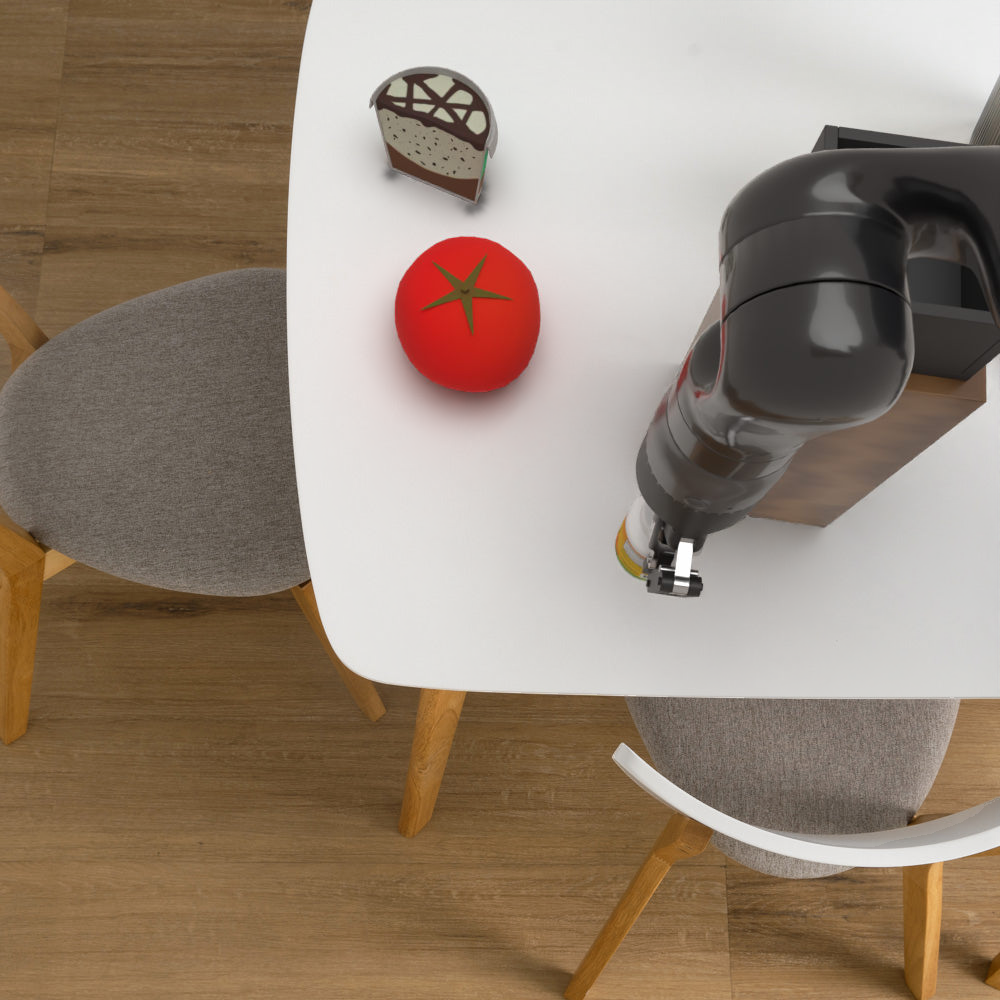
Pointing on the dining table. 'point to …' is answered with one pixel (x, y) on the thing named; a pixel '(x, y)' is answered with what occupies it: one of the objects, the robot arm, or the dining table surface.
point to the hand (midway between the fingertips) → (661, 529)
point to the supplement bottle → (634, 539)
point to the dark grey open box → (934, 285)
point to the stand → (864, 447)
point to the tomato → (468, 314)
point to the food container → (437, 128)
